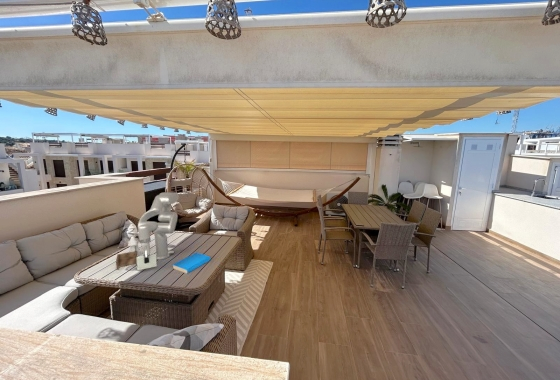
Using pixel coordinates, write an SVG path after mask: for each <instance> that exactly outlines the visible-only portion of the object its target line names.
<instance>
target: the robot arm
mask: <svg viewBox="0 0 560 380" xmlns="http://www.w3.org/2000/svg"><path fill="white" fill-rule="evenodd" d="M179 198H180V196H179V194H178V193H177V192H172V191H171V192H161V193H159V194H157V195H156V196H155V197H154V200H153V201H152V205H151V207H150V209H149V210H147V211H146V212H144V213H143V214H142V216H141V217H140V219H139V220H138V224H137V230H138V239H139V243H138V244H141V252H142V253H143V254H142V256H144V263H149V258H148V256H147V255H151V245H150V244H151V243H150V242H152V241H151V233H152V232H153V234H154V242H155V243H154V245H155V254H156V261H157V260H166V259H168V258H170V256H171V254H174V253H175V252H174V250H169V247H168V246H169V245H168V236H167V234H170V235H171V234H174V232H175V229H176V226H177V222H178V217H179V216H178V213H177V212H176V211H172V206H171V205H173V204H175V203H177V202H178V201H179ZM155 216H158V218H157V220H158V221H159V222H157V221H150V220H149V219H150V218H153V217H155Z"/></svg>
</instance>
